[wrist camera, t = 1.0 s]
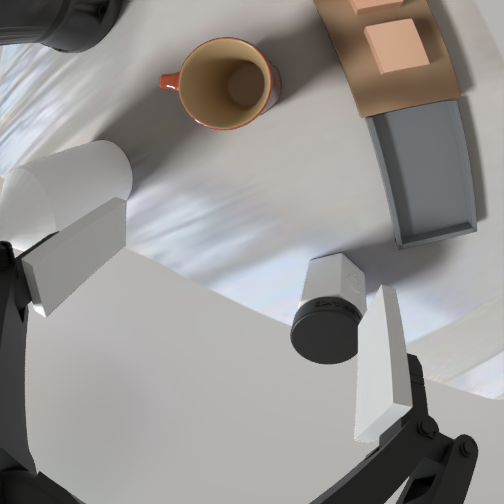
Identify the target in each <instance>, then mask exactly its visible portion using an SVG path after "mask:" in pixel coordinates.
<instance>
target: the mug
mask: <svg viewBox="0 0 504 504" xmlns="http://www.w3.org/2000/svg"><path fill="white" fill-rule="evenodd" d="M159 87H160V88H161V89H171V90H175V91H178V92H179V98H180V101H181V103H182V105H183V107H184V108H185V110H186V111H187V113H188V114H189V115H190V116H191V117H192V118H193V119H194V120H195V121H197V122H198V123H200V124H201V125H203V126H205V127H208V128H211V129H216V130H232V129H237V128H240V127H242V126H245V125H247V124H248V123H250V122H251V121H253V120H254V119H255V118H257V117H258V116H259V115H262V114H264V113H265V112H267V111H268V110H270V109H271V108H272V107H273V106H274V104H275V103H276V102H277V100H278V98H279V96H280V93H281V87H282V84H281V78H280V75H279V72H278V70H277V68H276V67H275V66H274V65H273V64H272V63H271V62H270V61H269V60H267V59H266V58H265V56H264V55H263V54H262V53H261V52H260V51H259V50H258V49H257V48H256V47H255V46H253V45H252V44H250V43H248V42H247V41H244V40H241V39H238V38H231V37H223V38H216V39H213V40H210V41H207V42H205V43H203V44H201V45H200V46H199V47H197V48H196V49H195V50H194V51H193V52H192V53H191V54H190V55H189V56H188V57H187V58H186V60H185V61H184V63H183V65H182V67H181V70H180V72H178V73H174V74H162V75H161V76H160V78H159Z"/></svg>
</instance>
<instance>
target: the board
mask: <svg viewBox="0 0 504 504" xmlns="http://www.w3.org/2000/svg"><path fill="white" fill-rule="evenodd" d="M313 2H314V4H315V6H316V8H317V10H318V12H319V14H320V16H321V19H322V21H323V23H324V25H325V27H326V29H327V32H328V34H329V36H330V38H331V41H332V43H333V45H334V48H335V50H336V53H337V55H338V57H339V60H340V62H341V65H342V67H343V70H344V73H345V75H346V78H347V81H348V83H349V86H350V89H351V91H352V94H353V97H354V100H355V103H356V106H357V109H358V112H359V115H360V117H362V118H363V117H367V116H372V115H376V114H380V113H384V112H389V111H393V110H398V109H402V108H407V107H412V106H417V105H422V104H427V103H432V102H437V101H443V100H449V99H455V98H461V97H462V96H461V92H460V89H459V85H458V82H457V79H456V76H455V72H454V69H453V66H452V63H451V60H450V57H449V55H448V52H447V49H446V46H445V44H444V41H443V38H442V36H441V33H440V31H439V28H438V26H437V24H436V21H435V19H434V17H433V14H432V12H431V10H430V8H429V6H428V4H427V1H426V0H403V3H402V4H401V6H400V7H399V8H393V9H387V10H382V11H376V12H371V13H366V14H361V15H357V16H356V14H355V12H354V9H353V7H352V5H351V3H350V1H349V0H313ZM411 18H412V20H413V23H414V25H415V27H416V30H417V32H418V34H419V37H420V39H421V42H422V44H423V47H424V50H425V52H426V55H427V58H428V61H429V63H430V64H429V65H426V66H423V67H417V68H411V69H406V70H401V71H396V72H391V73H386V74H382V75H381V74H380V71H379V68H378V66H377V63H376V60H375V58H374V55H373V53H372V50H371V48H370V45H369V43H368V41H367V38H366V36H365V34H364V30H365V27H367V26H372V25H376V24H382V23H387V22H392V21H398V20H405V19H411Z"/></svg>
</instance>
